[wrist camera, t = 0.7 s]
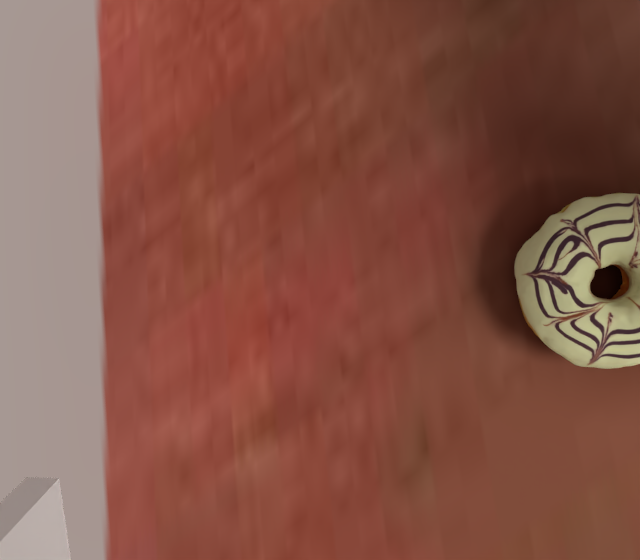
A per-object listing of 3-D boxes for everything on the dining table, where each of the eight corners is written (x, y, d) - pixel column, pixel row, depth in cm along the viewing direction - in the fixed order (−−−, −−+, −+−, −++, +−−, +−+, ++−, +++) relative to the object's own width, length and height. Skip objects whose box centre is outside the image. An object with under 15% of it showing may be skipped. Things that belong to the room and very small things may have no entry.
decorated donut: (479, 261, 33) (486, 259, 30) (621, 167, 31) (648, 153, 28) (571, 390, 32) (590, 405, 28) (724, 301, 30) (767, 304, 27)
